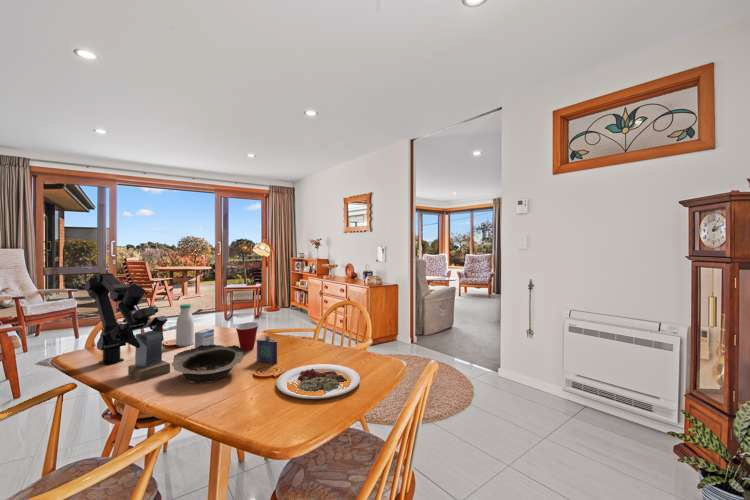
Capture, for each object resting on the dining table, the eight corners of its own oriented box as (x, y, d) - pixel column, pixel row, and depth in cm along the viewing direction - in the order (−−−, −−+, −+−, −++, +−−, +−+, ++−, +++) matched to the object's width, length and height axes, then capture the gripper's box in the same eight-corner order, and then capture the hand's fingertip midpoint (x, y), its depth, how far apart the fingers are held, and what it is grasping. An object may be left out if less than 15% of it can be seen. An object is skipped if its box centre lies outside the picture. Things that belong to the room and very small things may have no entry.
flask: (255, 361, 140) (255, 335, 140) (259, 359, 143) (260, 333, 143) (274, 365, 136) (275, 337, 136) (279, 362, 139) (279, 335, 139)
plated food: (337, 410, 100) (337, 399, 100) (257, 393, 110) (257, 383, 110) (371, 375, 128) (371, 366, 128) (306, 364, 138) (306, 356, 138)
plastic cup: (231, 348, 157) (231, 324, 157) (253, 344, 164) (253, 320, 164) (239, 354, 149) (239, 328, 149) (262, 349, 156) (262, 324, 156)
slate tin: (135, 365, 123) (135, 334, 123) (150, 360, 129) (151, 330, 129) (146, 368, 121) (146, 336, 121) (161, 363, 127) (162, 332, 127)
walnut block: (128, 376, 123) (128, 365, 123) (157, 368, 132) (157, 358, 132) (140, 382, 118) (140, 371, 118) (169, 373, 127) (170, 363, 126)
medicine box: (202, 351, 152) (202, 332, 152) (194, 350, 153) (194, 332, 153) (214, 346, 160) (214, 328, 160) (206, 345, 161) (206, 328, 161)
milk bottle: (197, 343, 164) (197, 304, 164) (181, 347, 157) (181, 306, 157) (188, 341, 168) (189, 302, 168) (172, 344, 161) (173, 304, 161)
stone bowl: (214, 359, 141) (216, 338, 140) (256, 375, 130) (258, 352, 130) (155, 379, 119) (157, 354, 118) (199, 399, 108) (202, 372, 107)
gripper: (115, 303, 117) (137, 336, 114) (164, 296, 135) (184, 325, 131) (101, 322, 120) (121, 356, 116) (150, 313, 138) (169, 342, 134)
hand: (151, 343), depth 124 cm, fingers open, 9 cm apart
